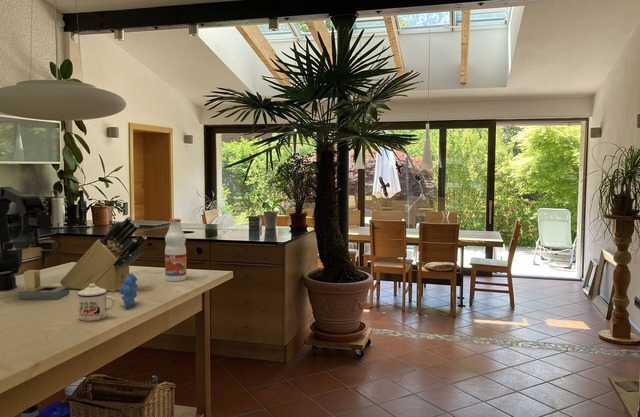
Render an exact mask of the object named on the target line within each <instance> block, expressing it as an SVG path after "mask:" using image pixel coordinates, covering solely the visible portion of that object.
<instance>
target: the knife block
mask: <svg viewBox="0 0 640 417" xmlns="http://www.w3.org/2000/svg"><path fill="white" fill-rule="evenodd" d="M139 228H140V225H139V223H137V222H136V221H135V220H133V217H132V216H131V215H130V216H129V215H128V216H126V218H125V219H124V220H123V221H122V222H120V221H117V222H116V223H115V224H113V226H112V227H111V228H110V229H109V230H108V232H107V234H106V235H105V236H104V237H101V238H100V239H97V240H96V241H95V242H94V243H93V244H92V245H91V246H90V248H89V249H88V250H87V251H86V252H85V253H84V254H83V255H82V256H81V258H80V259H79V260H78V261H77V262H76V263H75V264H74V265H73V266H72V267H71V269H69V271H68V272H67V273H66V274H65V275H64V276H63V278H62V279H61V280H60V281H59V283H60V286H69V289H71V290H72V289H76V290H77V289H78V290H84V289H85V288H87V287H89V284H95V286H97V287H99V288H103V289H105V290H106V291H107V292H113V293H115V292H116V291H118V290H119V288H120V287H121V286H124V285H125V283H124V280H125V279H126V277H127V276H128V274H130V265H131V264H132V263H133V262H135V261H136V260H137V259H138V258H140V257H141V255H143V254H144V253H146V249H145V248H144V249H139V250H137V249H138V248H139V247H141V246H142V244H143V243H145V241H147V236H146V235H143V236H142V237H138V236H136V237H135V238H134V237H132V236H133V235H134V233H135V232H136V231H137V230H138V229H139ZM131 237H132V238H131Z"/></svg>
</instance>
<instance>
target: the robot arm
mask: <svg viewBox="0 0 640 417" xmlns="http://www.w3.org/2000/svg"><path fill="white" fill-rule="evenodd" d="M12 203H14V204H16V208H17V209H19V210H20V211H21V212H20V213H19V216H20V217H21V230H20V232H19V236H17V237H16V238H15V239H14V240H11V237H10V231H9V225H8V217H7V215H8V213H9V211H10V209H11V208H10V207H11V206H10V205H11V204H12ZM51 225H52V218H51V217H50V215H48V214H47V211H46V207H45V206H44V203H43V202H42V199H41V198H40V196H39V195H37V194H25V193H23V192H21V191H20V190H16V189H14V188H13V187H12V186H0V291H10V290H13V289H16V288H18V286H17V278H16V277H15V275H16V274H19V270H20V268H21V267H22V265H23V250H25V249H28V248H41V250H40V253H41V266H42V268H45V267H46V264H47V262H48V260H49V258H50V256H51V254H52V252H53V251H54V250H56V249H57V248H59V243H58V241H57V240H46V241H42V239H40V232H41V230H47V229H49V228H50V227H51Z"/></svg>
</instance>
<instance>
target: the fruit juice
mask: <svg viewBox="0 0 640 417" xmlns="http://www.w3.org/2000/svg"><path fill="white" fill-rule="evenodd" d="M181 222H182V221H181V218H169V224H170V225H169V228H168V231H167V233H166V234H165V238H164V241H165V248H164V271H165V272H164V273H165V274H164V275H165V276H164V277H165V280H166V281H168V282H181V281H185V280H186V279H187V247H186V239H187V238H186V237H187V236H186V234H185V232H184V230H183V228H182V226H181Z"/></svg>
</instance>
